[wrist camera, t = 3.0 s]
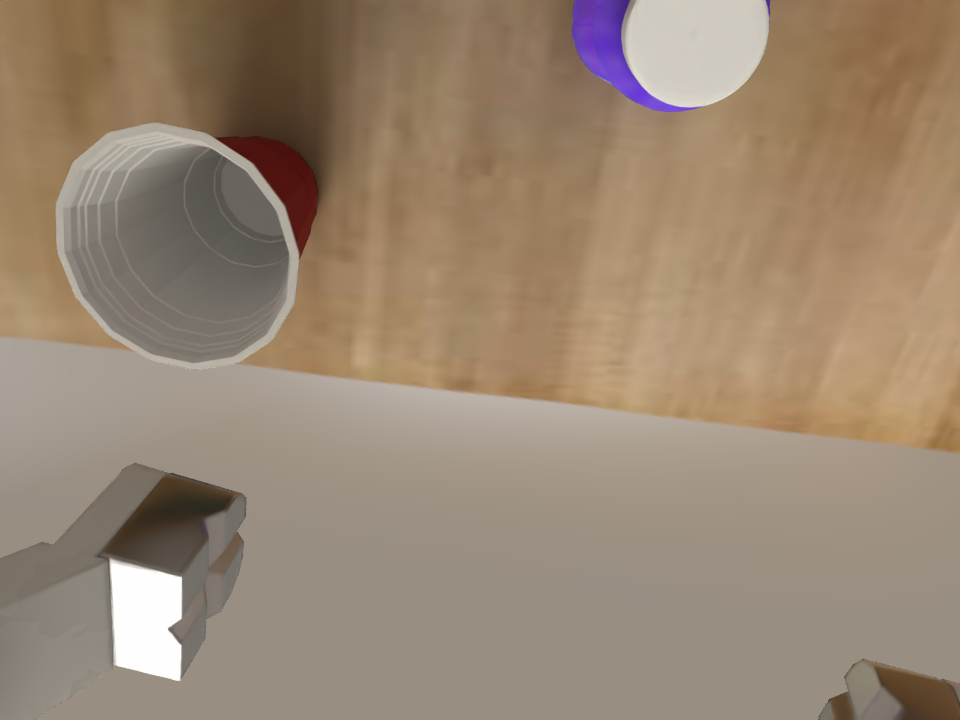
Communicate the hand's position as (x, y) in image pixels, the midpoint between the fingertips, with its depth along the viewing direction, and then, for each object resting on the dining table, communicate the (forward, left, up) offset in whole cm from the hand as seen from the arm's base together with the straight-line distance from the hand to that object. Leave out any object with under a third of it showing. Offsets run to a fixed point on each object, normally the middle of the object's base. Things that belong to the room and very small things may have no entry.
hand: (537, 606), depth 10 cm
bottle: (+6, +4, -35) cm, 35 cm away
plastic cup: (-16, +2, -35) cm, 38 cm away
